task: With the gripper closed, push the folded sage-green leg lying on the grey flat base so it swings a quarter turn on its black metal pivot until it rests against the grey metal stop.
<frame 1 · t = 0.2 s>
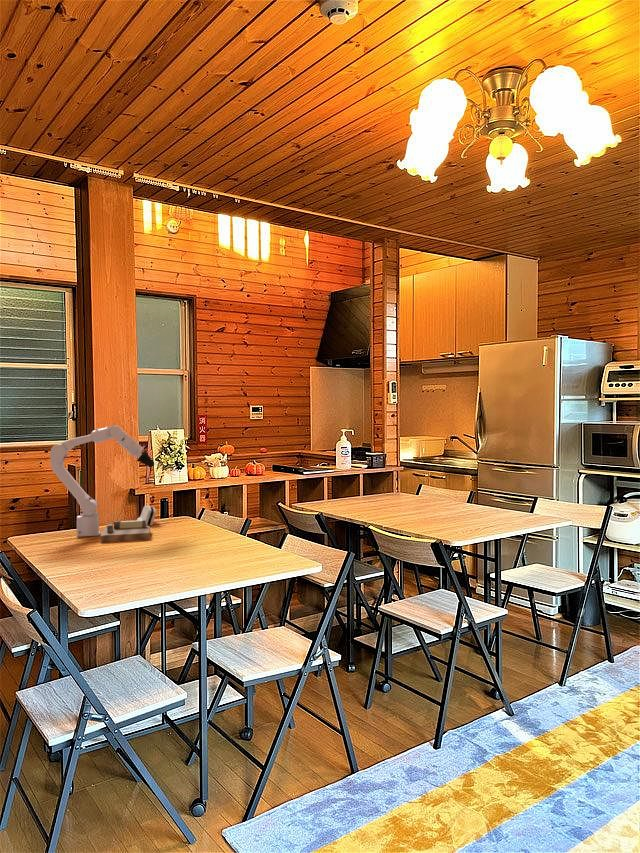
hand: (152, 465, 303), 30 cm above the table, tool tilted 45°, fingers open, 7 cm apart
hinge: (146, 524, 324), on the table
grey flat base: (126, 537, 290), on the table
folding leg: (129, 524, 296), point 5 cm above the table, hinge at 90.0°
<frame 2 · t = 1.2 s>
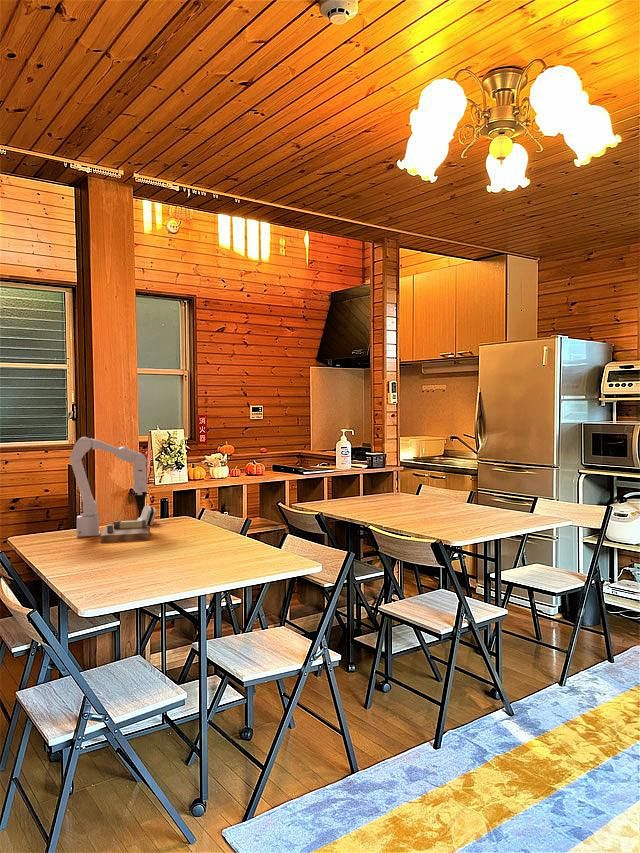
hand: (140, 508, 304), 10 cm above the table, tool pointing down, fingers open, 6 cm apart
nothing on the table moved.
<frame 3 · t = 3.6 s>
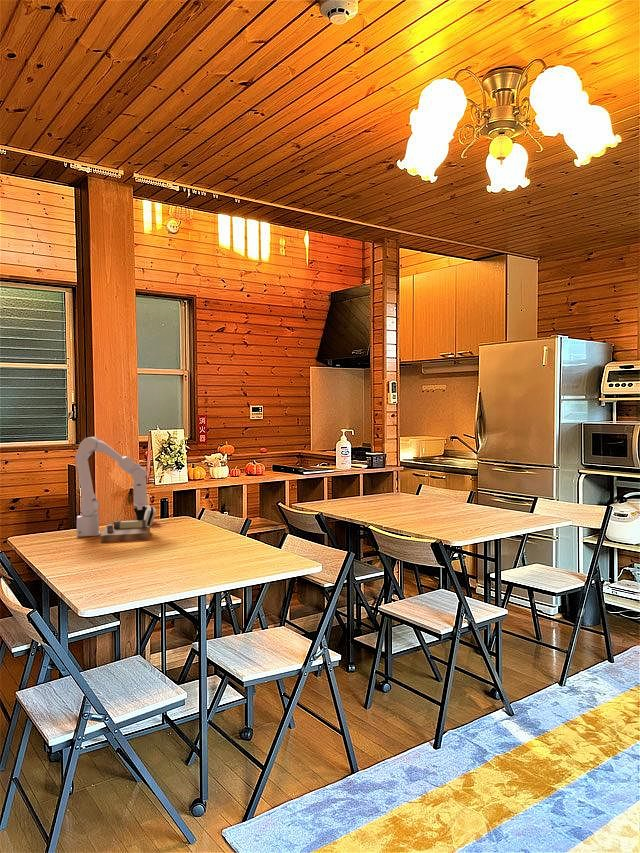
hand: (140, 523, 299), 4 cm above the table, tool pointing down, fingers closed
folding leg: (129, 524, 296), point 5 cm above the table, hinge at 89.8°, touching gripper
everything else where it was.
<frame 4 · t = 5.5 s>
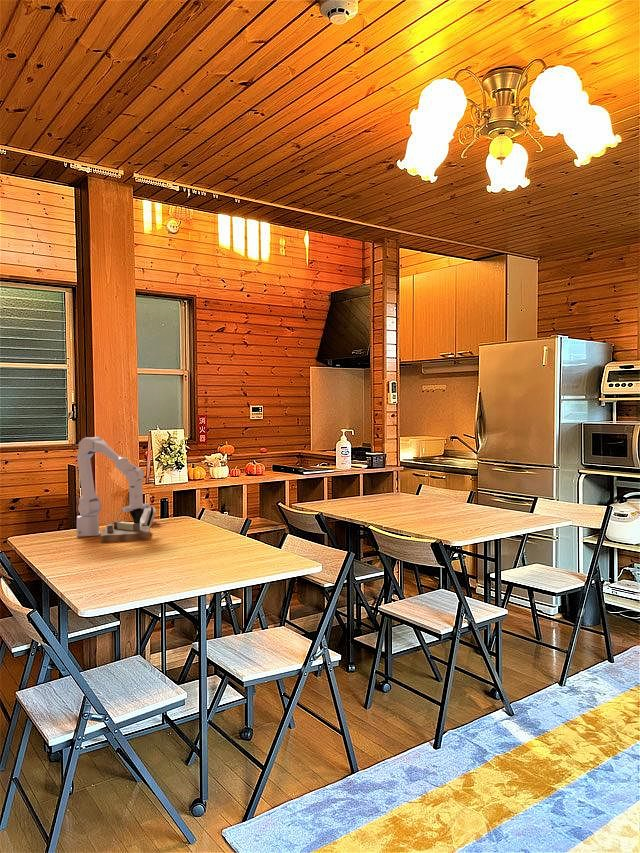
hand: (136, 526, 292), 5 cm above the table, tool pointing down, fingers closed, pressing on folding leg
folding leg: (126, 525, 292), point 5 cm above the table, hinge at 47.5°, touching gripper
everything else where it was.
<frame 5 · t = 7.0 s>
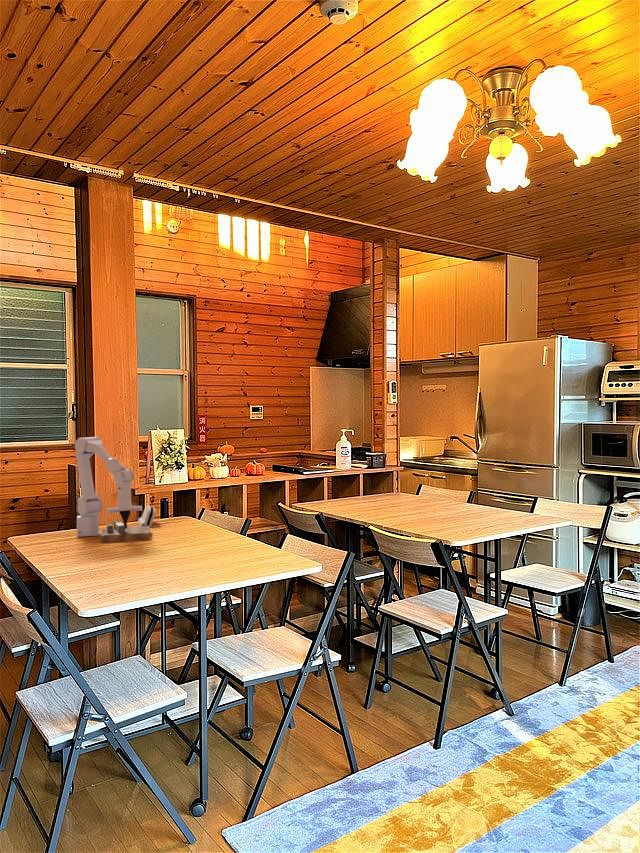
hand: (125, 528, 287), 5 cm above the table, tool pointing down, fingers closed, pressing on folding leg
folding leg: (119, 526, 290), point 5 cm above the table, hinge at 12.2°, touching gripper
everything else where it was.
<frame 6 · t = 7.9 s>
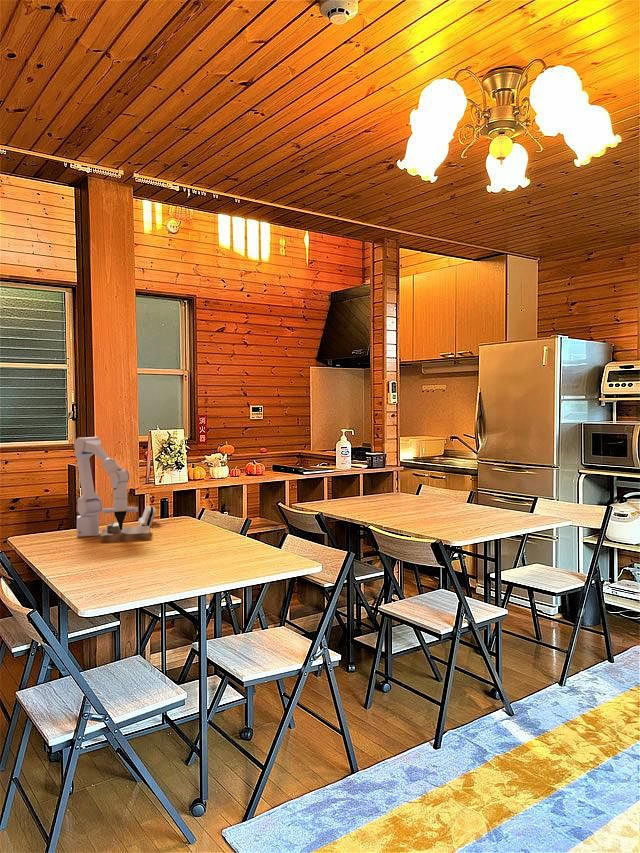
hand: (120, 529, 286), 4 cm above the table, tool pointing down, fingers closed
folding leg: (116, 526, 290), point 5 cm above the table, hinge at -0.6°, touching gripper
everything else where it was.
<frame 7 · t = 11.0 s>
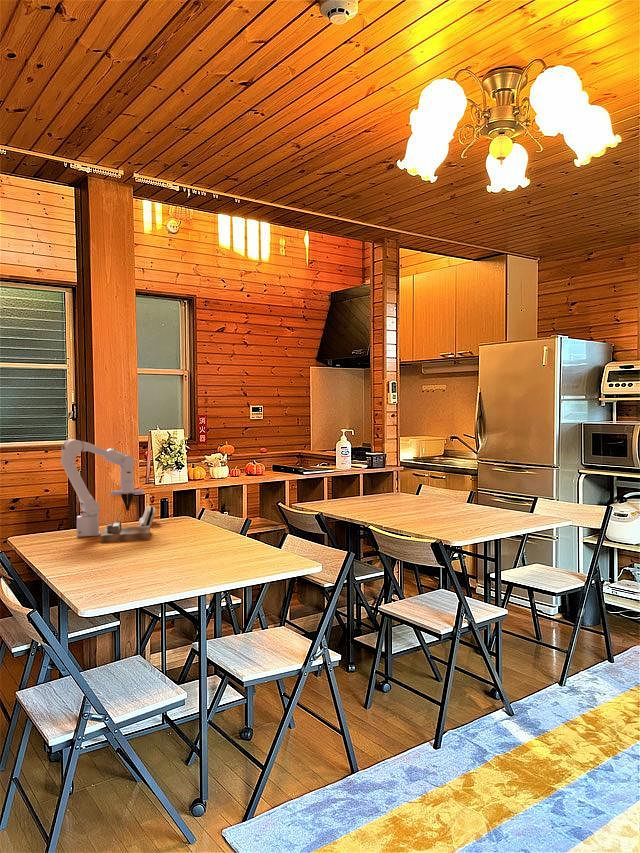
hand: (127, 510, 307), 9 cm above the table, tool pointing down, fingers closed
folding leg: (116, 526, 290), point 5 cm above the table, hinge at -0.6°
at the end: folding leg at -1° (first picture: +90°); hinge moved 1.4 cm from its start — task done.
